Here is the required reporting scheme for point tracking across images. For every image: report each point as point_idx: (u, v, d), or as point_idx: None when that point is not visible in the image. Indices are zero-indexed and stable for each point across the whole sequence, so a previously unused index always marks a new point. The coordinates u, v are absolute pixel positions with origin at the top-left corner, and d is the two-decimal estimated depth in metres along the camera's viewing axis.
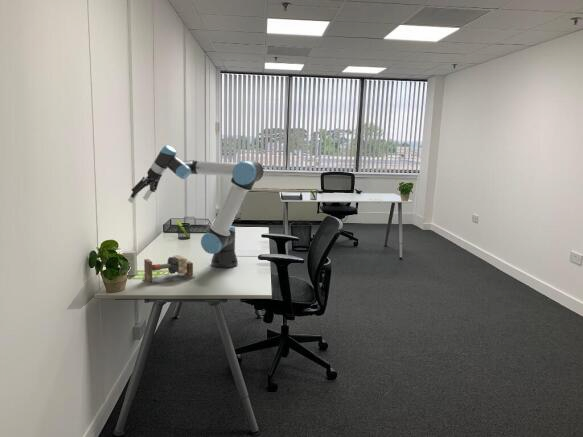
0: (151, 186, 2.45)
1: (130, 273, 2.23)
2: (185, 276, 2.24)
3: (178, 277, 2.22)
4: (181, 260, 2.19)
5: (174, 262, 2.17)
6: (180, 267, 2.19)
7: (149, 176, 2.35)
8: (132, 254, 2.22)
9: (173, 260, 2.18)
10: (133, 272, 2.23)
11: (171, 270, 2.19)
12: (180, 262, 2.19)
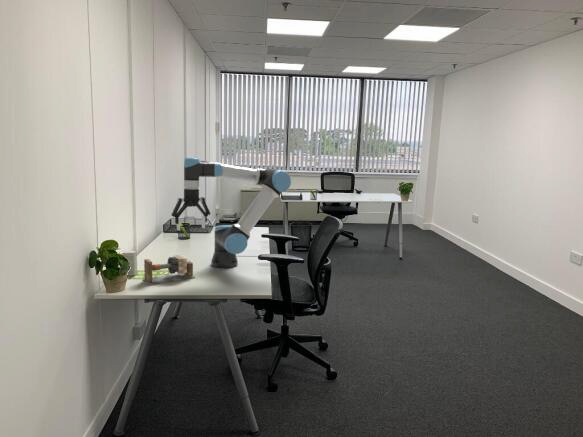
0: (200, 210, 2.25)
1: (130, 273, 2.23)
2: (185, 276, 2.24)
3: (178, 277, 2.22)
4: (181, 260, 2.19)
5: (174, 262, 2.17)
6: (180, 267, 2.19)
7: (184, 195, 2.19)
8: (132, 254, 2.22)
9: (173, 260, 2.18)
10: (133, 272, 2.23)
11: (171, 270, 2.19)
12: (180, 262, 2.19)
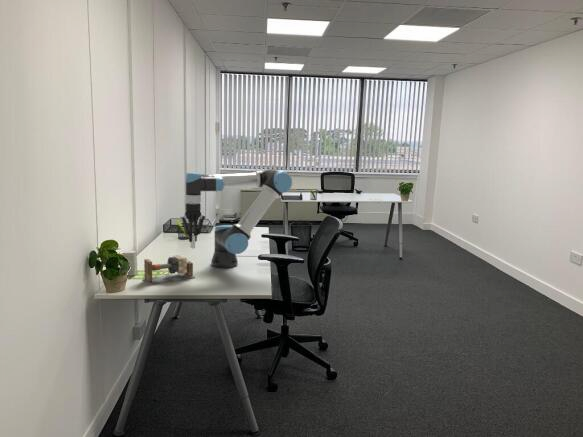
0: (194, 226, 2.24)
1: (130, 273, 2.23)
2: (185, 276, 2.24)
3: (178, 277, 2.22)
4: (181, 260, 2.19)
5: (174, 262, 2.17)
6: (180, 267, 2.19)
7: None
8: (132, 254, 2.22)
9: (173, 260, 2.18)
10: (133, 272, 2.23)
11: (171, 270, 2.19)
12: (180, 262, 2.19)
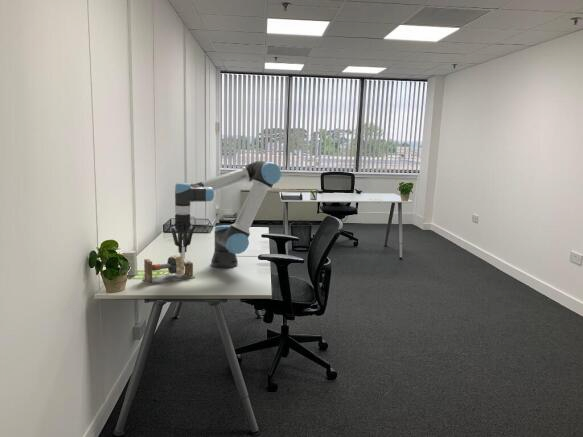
0: (184, 237, 2.22)
1: (130, 273, 2.23)
2: (185, 276, 2.24)
3: (178, 277, 2.22)
4: (179, 260, 2.18)
5: (174, 262, 2.17)
6: (177, 267, 2.18)
7: None
8: (132, 254, 2.22)
9: (173, 260, 2.18)
10: (133, 272, 2.23)
11: (171, 270, 2.19)
12: (177, 262, 2.18)
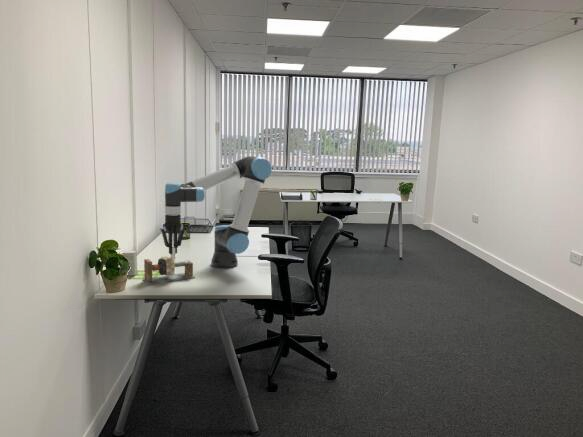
0: (174, 238, 2.19)
1: (130, 273, 2.23)
2: (185, 276, 2.24)
3: (178, 277, 2.22)
4: (169, 262, 2.15)
5: (164, 263, 2.15)
6: (167, 269, 2.15)
7: None
8: (132, 254, 2.22)
9: (163, 261, 2.15)
10: (133, 272, 2.23)
11: (161, 271, 2.16)
12: (167, 264, 2.15)
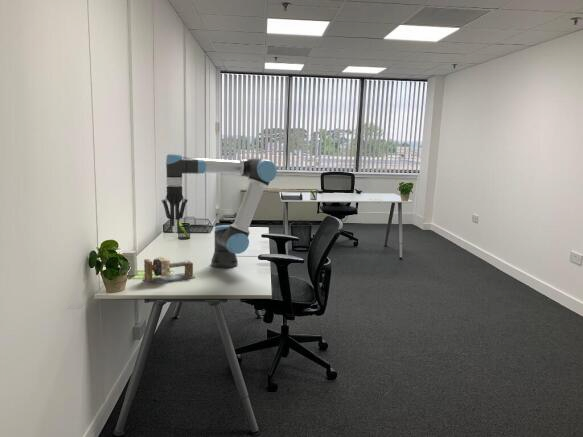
0: (176, 210, 2.17)
1: (130, 273, 2.23)
2: (185, 276, 2.24)
3: (178, 277, 2.22)
4: (164, 262, 2.14)
5: (159, 264, 2.13)
6: (163, 269, 2.14)
7: None
8: (132, 254, 2.22)
9: (158, 262, 2.13)
10: (133, 272, 2.23)
11: (156, 272, 2.15)
12: (162, 264, 2.13)
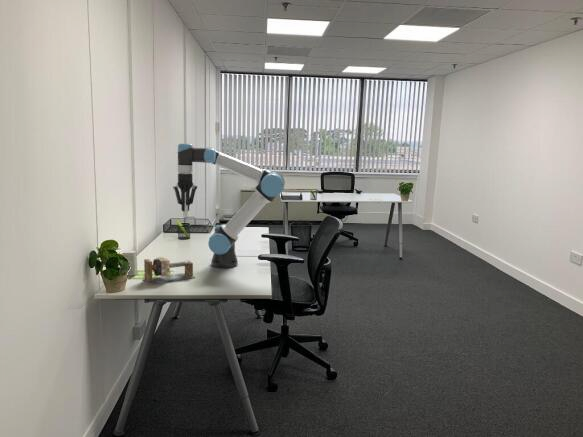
0: (186, 196, 2.31)
1: (130, 273, 2.23)
2: (185, 276, 2.24)
3: (178, 277, 2.22)
4: (164, 262, 2.14)
5: (159, 264, 2.13)
6: (163, 269, 2.14)
7: None
8: (132, 254, 2.22)
9: (158, 262, 2.13)
10: (133, 272, 2.23)
11: (156, 272, 2.15)
12: (162, 264, 2.13)
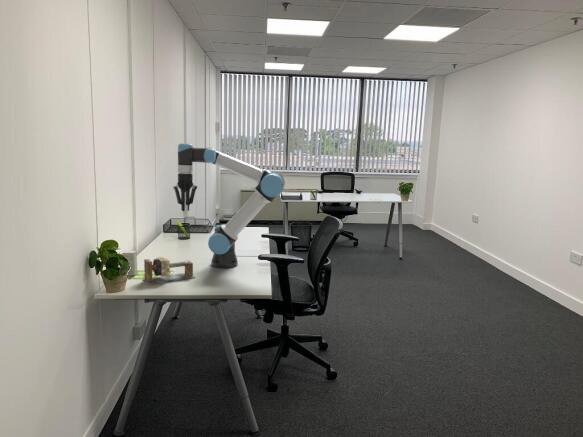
0: (186, 196, 2.31)
1: (130, 273, 2.23)
2: (185, 276, 2.24)
3: (178, 277, 2.22)
4: (164, 262, 2.14)
5: (159, 264, 2.13)
6: (163, 269, 2.14)
7: None
8: (132, 254, 2.22)
9: (158, 262, 2.13)
10: (133, 272, 2.23)
11: (156, 272, 2.15)
12: (162, 264, 2.13)
